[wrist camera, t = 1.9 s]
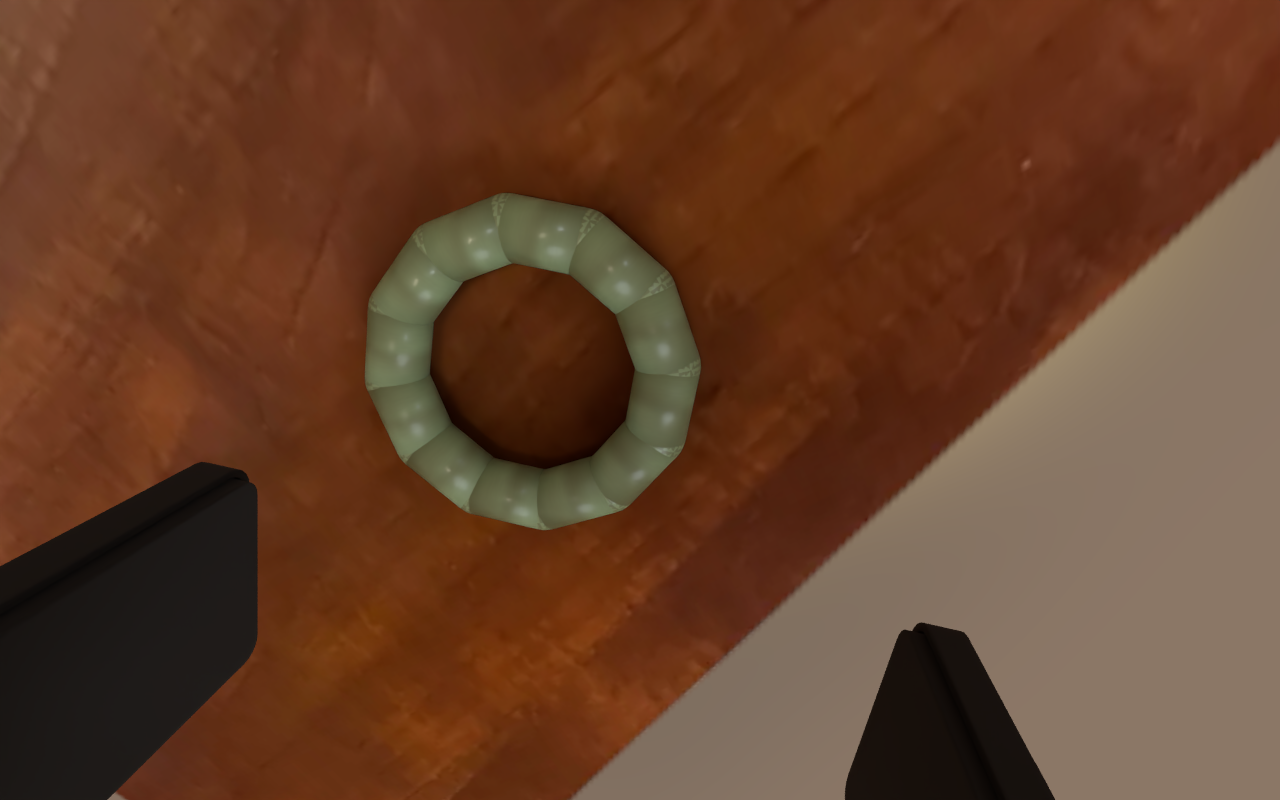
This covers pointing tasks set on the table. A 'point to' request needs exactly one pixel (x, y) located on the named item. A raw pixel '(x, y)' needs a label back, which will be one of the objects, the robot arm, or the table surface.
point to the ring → (608, 273)
